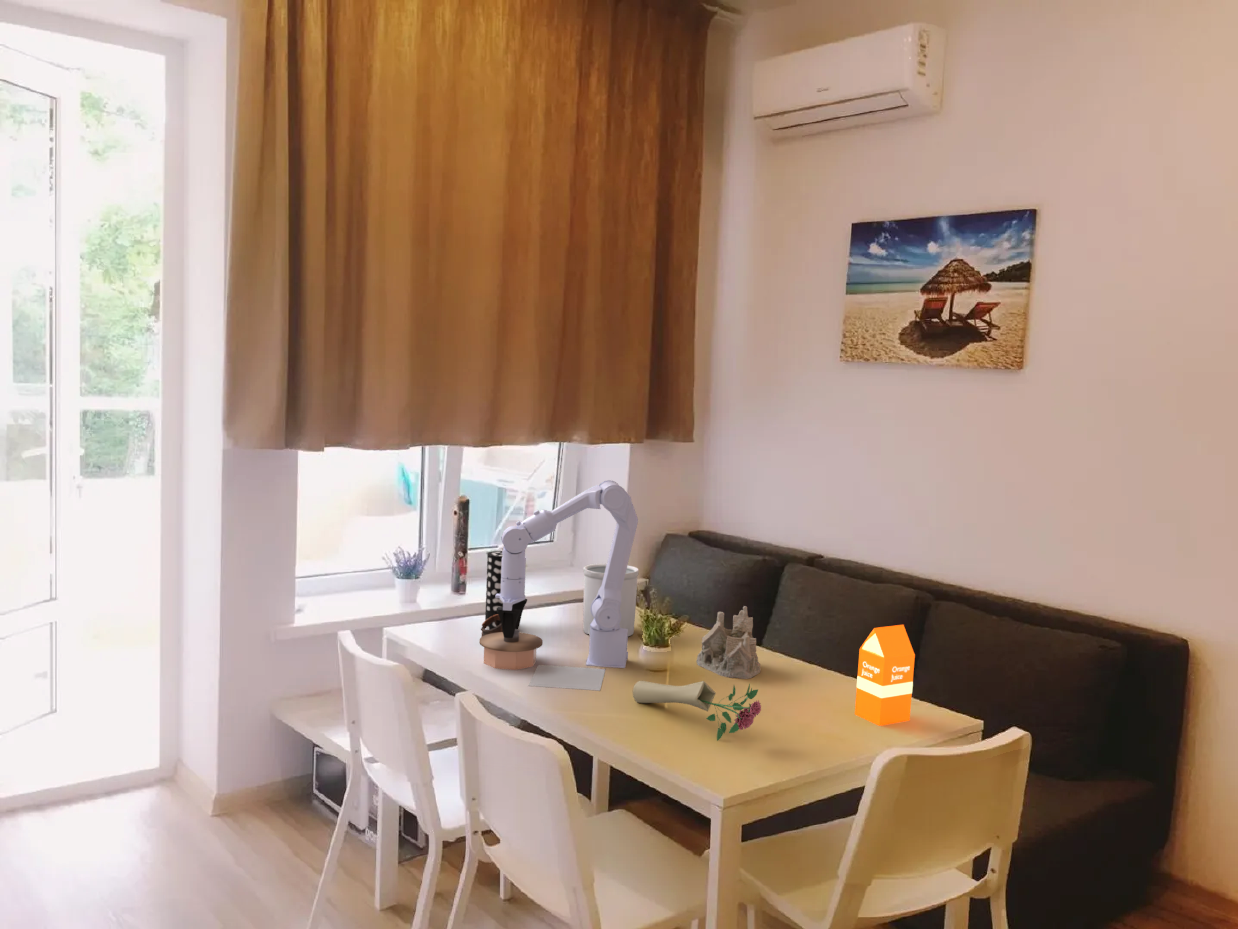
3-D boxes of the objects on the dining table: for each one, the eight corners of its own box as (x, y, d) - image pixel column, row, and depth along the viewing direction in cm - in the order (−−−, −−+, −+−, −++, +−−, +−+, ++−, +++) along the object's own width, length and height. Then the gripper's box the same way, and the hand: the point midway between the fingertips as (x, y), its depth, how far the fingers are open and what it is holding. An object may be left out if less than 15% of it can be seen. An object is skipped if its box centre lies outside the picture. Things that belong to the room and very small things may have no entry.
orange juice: (910, 720, 223) (917, 629, 221) (879, 726, 218) (886, 632, 216) (884, 709, 229) (891, 620, 227) (853, 714, 225) (860, 623, 223)
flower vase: (656, 735, 227) (784, 749, 202) (615, 730, 220) (743, 743, 194) (662, 680, 231) (788, 687, 205) (622, 673, 223) (748, 678, 197)
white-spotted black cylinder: (504, 621, 288) (507, 549, 286) (522, 628, 281) (524, 555, 279) (479, 625, 282) (481, 552, 280) (495, 632, 276) (498, 558, 274)
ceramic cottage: (701, 654, 265) (706, 597, 262) (765, 665, 260) (771, 607, 257) (685, 674, 250) (690, 614, 247) (753, 687, 245) (758, 626, 242)
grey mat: (605, 670, 247) (605, 669, 247) (599, 692, 231) (600, 690, 231) (538, 666, 248) (538, 664, 248) (528, 687, 232) (528, 685, 232)
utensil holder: (577, 624, 288) (579, 562, 286) (629, 624, 291) (633, 562, 289) (584, 639, 274) (587, 573, 272) (640, 639, 276) (643, 574, 274)
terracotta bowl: (537, 657, 255) (538, 637, 255) (530, 672, 243) (531, 651, 243) (490, 654, 256) (490, 634, 255) (480, 668, 244) (481, 648, 244)
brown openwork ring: (524, 649, 264) (510, 623, 261) (490, 663, 264) (476, 638, 261) (522, 625, 275) (509, 600, 272) (489, 639, 276) (476, 614, 272)
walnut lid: (547, 636, 256) (547, 624, 255) (536, 654, 241) (537, 641, 241) (487, 632, 257) (487, 620, 257) (472, 649, 242) (473, 636, 242)
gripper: (501, 570, 255) (500, 624, 256) (490, 582, 240) (488, 640, 242) (530, 571, 254) (528, 626, 256) (521, 584, 240) (519, 642, 241)
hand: (511, 633), depth 249 cm, fingers open, 7 cm apart
